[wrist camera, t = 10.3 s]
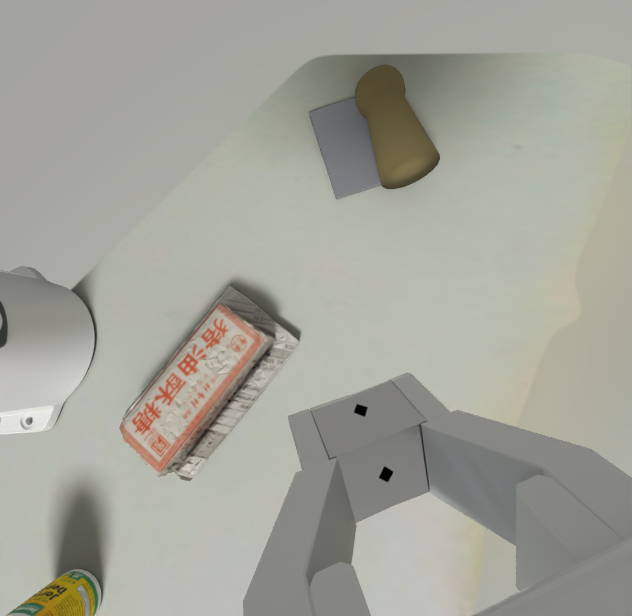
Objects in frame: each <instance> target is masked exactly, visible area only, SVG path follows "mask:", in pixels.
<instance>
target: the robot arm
mask: <svg viewBox="0 0 632 616" xmlns="http://www.w3.org/2000/svg"><path fill="white" fill-rule="evenodd" d="M94 341H95V336H94V326H93V322H92V318H91V315H90V313H89V311H88V309H87V307H86V305H85V304H84V303H83V301H82V300H81V299H80V298H79V297H78V296H77V295H76V294H75V293H73V292H72V291H71V290H69V289H67V288H65V287H62V286H60V285H57V284H53V283H51V282H49V281H47V280H46V279H45V278H44V277H43V276H42V275H41V274H40V273H39V272H38V271H36V270H35V269H33V268H29V267H19V268H16V269H14V270H12V271H11V272H7V271H1V270H0V434H14V433H28V432H40V431H47V430H49V429H51V428H52V427H53V426H54V424H55V422H56V420H57V418H58V416H59V414H60V411H61V408H62V406H63V403H64V402H65V400H66V399H67V398H68V397H69V395H70V394H71V393H72V392H73V391H74V390H75V389H76V387H77V386H78V385H79V384H80V382H81V381H82V379H83V377H84V376H85V374H86V372H87V370H88V367H89V365H90V362H91V359H92V355H93V350H94ZM32 418H33V422H32ZM288 420H289V424H290V428H291V431H292V435H293V438H294V442H295V446H296V449H297V453H298V456H299V460H300V463H301V467H302V471H300V472H297V473H296V474H295V476H294V478H293V481H292V483H291V486H290V488H289V491H288V493H287V495H286V498H285V500H284V503H283V505H282V508H281V510H280V513H279V515H278V517H277V520H276V522H275V525H274V527H273V530H272V532H271V535H270V537H269V539H268V542H267V544H266V547H265V549H264V552H263V554H262V557H261V559H260V561H259V564H258V566H257V569H256V571H255V574H254V576H253V578H252V581H251V583H250V586H249V588H248V591H247V593H246V596H245V598H244V600H243V610H244V616H371V615H370V612H369V609H368V607H367V604H366V601H365V598H364V595H363V592H362V590H361V587H360V584H359V581H358V578H357V575H356V573H355V570H354V567H353V566H352V565H351V562H352V555H353V548H354V540H355V533H356V523H357V522H359V521H361V520H363V519H365V518H368V517H370V516H372V515H374V514H376V513H378V512H381V511H383V510H385V509H387V508H389V507H391V506H394V505H396V504H399V503H402V502H404V501H407V500H409V499H412V498H414V497H417V496H420V495H422V494H425V493H427V492H430V494H432V495H434V496H435V497H437V498H438V499H440V500H442V501H443V502H445V503H447V504H448V505H450V506H452V507H453V508H455V509H456V510H458V511H460V512H461V513H463V514H465V515H466V516H468V517H470V518H471V519H473V520H474V521H476V522H478V523H479V524H481V525H483V526H484V527H486V528H487V529H489V530H491V531H493V532H494V533H496V534H497V535H499V536H501V537H502V538H504V539H505V540H507V541H509V542H510V543H512V544H514V545H515V546H516V587H517V588H518V590H519V591H520V592H518V593H516V594H514V595H512V596H510V597H508V598H506V599H504V600H502V601H500V602H498V603H496V604H494V605H492V606H490V607H488V608H486V609H484V610H482V611H480V612H478V613H476V614H474V615H472V616H632V478H631V477H630V476H628V475H627V474H626V473H624V472H623V471H621V470H620V469H619V468H617V467H616V466H614V465H613V464H612V463H610V462H609V461H607V460H606V459H604V458H603V457H602V456H600V455H599V454H598V453H596V452H595V451H593V450H592V449H589V448H585V447H582V446H579V445H575V444H572V443H569V442H565V441H562V440H558V439H555V438H551V437H548V436H545V435H541V434H537V433H534V432H531V431H527V430H524V429H520V428H517V427H514V426H510V425H507V424H503V423H500V422H497V421H493V420H490V419H486V418H483V417H479V416H476V415H473V414H469V413H466V412H462V411H459V410H456V411H453V412H450V411H449V410H448V409H447V408H446V407H445V406H444V405H443V404H442V403H441V402H440V401H439V400H438V399H437V398H436V397H435V396H434V395H433V394H432V393H431V392H430V391H429V390H428V389H427V388H426V387H424V386H423V385H422V384H421V383H420V382H419V381H418V380H417V379H416V378H415V377H414V376H413V375H412V374H410V373H405V374H403V375H400V376H398V377H395V378H392V379H390V380H388V381H387V382H384V383H381V384H379V385H376V386H373V387H370V388H368V389H365V390H362V391H360V392H357V393H354V394H351V395H348V396H345V397H342V398H339V399H336V400H333V401H330V402H327V403H324V404H321V405H318V406H315V407H312V408H310V410H309V409H307V410H304V411H301V412H298V413H296V414H293V415H290V416H288Z"/></svg>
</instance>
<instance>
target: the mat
mask: <svg viewBox="0 0 632 616" xmlns="http://www.w3.org/2000/svg"><path fill="white" fill-rule="evenodd" d="M309 115H310V118H311V122H312V125H313V128H314V131H315V134H316V137H317V140H318V143H319V147H320V150H321V153H322V156H323V159H324V162H325V165H326V168H327V172H328V175H329V178H330V181H331V184H332V187H333V190H334V193H335V197H336V199H339V198H342V197H346V196H349V195H352V194H355V193H358V192H361V191H365V190H368V189H371V188H374V187H377V186H380V185H381V182H380V178H379V173H378V169H377V164H376V159H375V155H374V150H373V146H372V141H371V137H370V132H369V127H368V123H367V119H366V118H364V117H363V116H362V115H361V114H360V113H359V111H358V109H357V106H356V104H355V97H353V98H350V99H347V100H344V101H341V102H338V103H335V104H332V105H329V106H326V107H323V108H320V109H317V110H314V111H311V112H309Z"/></svg>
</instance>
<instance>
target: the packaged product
mask: <svg viewBox="0 0 632 616" xmlns="http://www.w3.org/2000/svg"><path fill="white" fill-rule="evenodd" d="M298 344H299V340H298V339H297V338H296V337H294V336H293V335H292V334H291V333H290V332H289V331H288V330H286V329H285V328H284V327H282V326H281V325H279V324H278V323H277V322H275V321H274V320H273V319H272V318H271V317H270V316H268V315H267V314H266V313H265V312H264V311H263V310H262V309H261V308H259V307H258V306H257V305H256V304H255V303H253V302H252V301H251V300H250V299H248V298H247V297H246V296H244V295H243V294H241V293H240V292H238V291H237V290H235V289H234V288H232V287H231V286H230V285H229V287H228V288H227V290H226V291H225V292H224V293H223V295H222V296H221V297H220V298H219V299H218V300H217V301H216V303H215V304H214V305H213V306H212V308H211V309H210V311H209V312H208V313H207V314H206V316H205V317H204V318H203V319H202V321H201V322H200V323H199V324H198V325H197V326H196V328H195V329H194V330H193V331H192V332H191V334H190V335H189V336H188V337H187V339H186V340H185V341H184V342H183V344H182V345H181V346H180V347H179V348H178V349H177V351H176V352H175V353H174V354H173V356H172V357H171V359H170V360H169V362H168V364H167V365H166V366H164V367H163V368H162V370H161V371H160V372H159V373H158V374H157V376H156V377H155V378H154V379H153V381H152V382H151V383H150V385H149V386H148V387H147V388H146V390H145V391H144V392H143V393H142V394H141V395H140V397H139V398H138V399H137V400H136V401H135V403H134V404H133V405H132V407H131V408H130V409H129V410H128V411H127V413H126V414H125V415H124V416H123V418H122V419H123V421H122V423H121V425H120V431H121V433H122V435H123V439H124V441H125V442H126V443H128V444H129V445H130V447H131V448H132V449H134V450H135V451H136V453H138V454H139V455H140V457H141V459H142V460H143V461H144V462H145V463H146V465H148V466H150V468H151V469H152V470H153V471H154V472H155V474H156V475H157V476H158V477H160V476H162V475H163V476H165V475H166V474H167V473H172V472H175V473H176V474H177V475H178V476H179V477H180V479H182V480H187V481H190V480H191V479H192V478H193V477H194V476H195V475H196V474H197V473H198V472H199V471H200V469H201V468H202V466H203V465H204V463H205V462H206V460H207V459H208V458H209V456H210V455H211V454H212V453H213V452H214V450H215V449H216V448H217V447H218V446H219V445H220V444H221V442H222V441H223V440H224V439H225V438H226V437H227V435H228V434H229V433H230V432H231V431H232V429H233V428H234V427H235V426H236V424H237V423H238V422H239V421H240V419H241V418H242V417H243V416H244V415H245V413H246V412H247V411H248V410H249V409H250V407H251V406H252V405H253V404H254V402H255V401H256V400H257V399H258V397H259V396H260V395H261V394H262V392H263V391H264V390H265V389H266V387H267V386H268V385H269V384H270V382H271V381H272V380H273V378H274V377H275V376H276V375H277V373H278V372H279V371H280V369H281V368H282V367H283V365H284V364H285V363H286V362H287V360H288V359H289V358H290V356H291V355H292V353H293V352H294V350H295V349H296V347H297V345H298Z"/></svg>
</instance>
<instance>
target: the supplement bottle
mask: <svg viewBox="0 0 632 616" xmlns="http://www.w3.org/2000/svg"><path fill="white" fill-rule="evenodd" d="M100 604H101V589H100V585H99V583H98V581H97V579H96V578H95V577H94V576H93V575H92V574H91V573H90V572H88V571H85V570H82V569H74V570H70V571H68V572H66V573H64V574H63V575H61V576H60V577H58V578H57V579H56V580H54V581H53V582H52V583H50V584H49V585H47V586H46V587H45V588H43V589H42V590H41V591H39V592H38V593H36V594H35V595H34V596H32V597H31V598H29V599H28V600H27V601H25V602H24V603H23V604H21V605H20V606H18V607H17V608H16V609H14V610H13V611H11V612H10V613H9V614H7V615H6V616H96V614H97V612H98V610H99V607H100Z"/></svg>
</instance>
